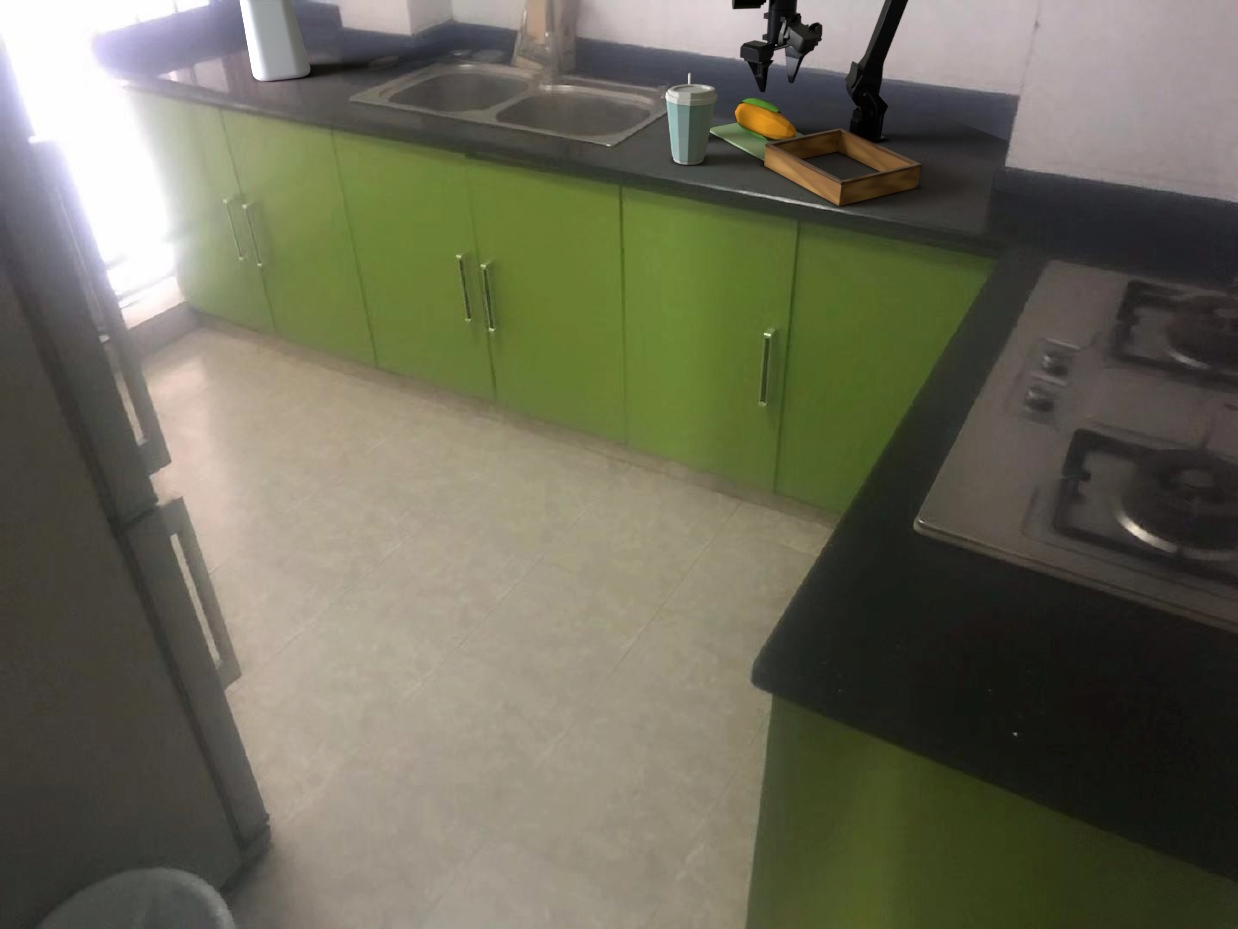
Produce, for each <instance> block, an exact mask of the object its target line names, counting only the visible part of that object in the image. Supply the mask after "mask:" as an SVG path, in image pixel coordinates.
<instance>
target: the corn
mask: <svg viewBox="0 0 1238 929" xmlns="http://www.w3.org/2000/svg"><path fill="white" fill-rule="evenodd" d="M734 114H735V116H734V118H735V121H736V123H738V124H739V126H740V127H741V128H742V129H744V130H745V131H746V132H748V133H750V134H752V135H755V136H757V137H759V138H762V139H764V140H767V139H766V138H764V137H769V138H773V139H784V140H785V139H790V138H795V137H796V136H795V134H796V132H797V130H796V127H795V126H794V125H793V123H791V122H790V121H789V120H788V119H787V118H786V117H785V116H784V115H783V114H782V112H781V110H780V108H778V107H777V106H776V105H775V104H773V103H771V102H770V101H768V100H765V99H762V98H757V97H749V98H745V99H743V100H742V101H741V102H739V103H737V107H736V109H735V111H734ZM763 136H764V137H763Z"/></svg>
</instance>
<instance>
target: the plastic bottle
mask: <svg viewBox="0 0 1238 929" xmlns="http://www.w3.org/2000/svg"><path fill="white" fill-rule="evenodd" d="M239 4H240V9H241V14H242V15H241V16H242V20H243V25H244V26H243V27H244V32H245V38H246V43H247V49H248V54H249V62H250V65H251V71H252V76H253V77H254V78H255V79H256V80H257V81H261V82H272V81H283V80H291V79H299V78H303V77H306V76H308V75H309V74H310V73H311V65H310V62H309V58H308V55H307V51H306V48H305V44H304V40H303V37H302V33H301V28H300V26H299V23H298V19H297V18H298V17H297V15H296V10H295V8H294V4H293V0H239Z"/></svg>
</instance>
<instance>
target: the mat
mask: <svg viewBox="0 0 1238 929" xmlns="http://www.w3.org/2000/svg"><path fill="white" fill-rule="evenodd" d="M710 133H711V134H713V135H715V136H716V137H718V138H720V139H722V140H724V141H726V142H727V143H729V144H731V145H733V146H735V147H737V148H739V149H741V150H742V151H744V152H746V153H748V154H749V155H751V156H753V157H756V158H757V159H760V160H762V161H763V162H765V148H766V147H765V144H767V143H771V142H776V141H780V140H784V139H773V138H769V137H764V136H763V137H764V138H766V139H767V140H764V139H762V138H759V137H757V136H755V135H752V134H750V133H748V132H746V131H745V130H744V129H742V128H741V127H740V126H739V124H738V123H737V122H734V123H733V122H732V123H728V124H724V125H718V126H713V127H712V126H711V128H710ZM805 135H806V134H805ZM805 135H804V134H803V133H801V132H798V131H796V134H795V136H796V137H800V136H805Z"/></svg>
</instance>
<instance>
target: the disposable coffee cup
mask: <svg viewBox="0 0 1238 929" xmlns="http://www.w3.org/2000/svg"><path fill="white" fill-rule="evenodd" d="M664 98H665V102H666V110H667V120H668V129H669V137H670V139H669V140H670V147H671V148H670V149H671V156H672V158H673V161H674V162H675V163H677V164H680V165H685V166H692V165H694V166H695V165H698V164H701V163H702V162H703V161H704V158H705V157H706V152H707V149H708V148H707V147H708V142H709V137H710V133H711V132H710V128H712V124H713V117H714V113H715V107H716V103H717V100H719V98H718V93H717V92H716V88H715V87H714V86H711V85H707V84H699V83H698V84H697V83H691V84H688V83H686V84H677V85H673V86H671V87H670V88H668V90H667V91H665V96H664Z"/></svg>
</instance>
